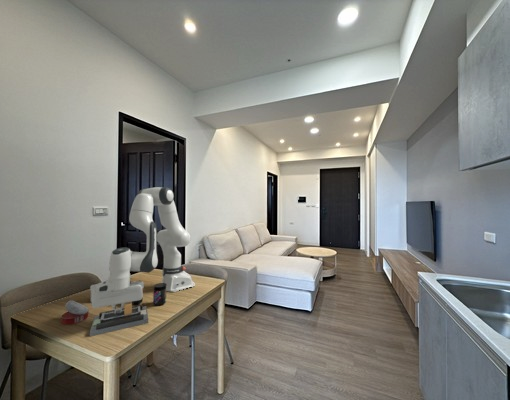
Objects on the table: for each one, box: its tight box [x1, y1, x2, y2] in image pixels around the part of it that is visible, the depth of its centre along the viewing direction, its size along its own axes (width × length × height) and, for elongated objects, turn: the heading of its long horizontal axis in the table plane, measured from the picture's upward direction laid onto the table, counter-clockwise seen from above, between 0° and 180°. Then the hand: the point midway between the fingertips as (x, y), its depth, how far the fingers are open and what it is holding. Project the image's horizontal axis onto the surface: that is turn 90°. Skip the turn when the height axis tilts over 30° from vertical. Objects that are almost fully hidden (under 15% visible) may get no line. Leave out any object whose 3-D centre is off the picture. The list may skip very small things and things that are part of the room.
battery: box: [132, 288, 144, 306], centre depth 120 cm, size 4×7×10 cm, turn 83°
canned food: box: [61, 300, 90, 326], centre depth 102 cm, size 11×10×10 cm
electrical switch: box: [89, 283, 99, 303], centre depth 124 cm, size 9×5×9 cm, turn 141°
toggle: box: [124, 302, 133, 315], centre depth 102 cm, size 3×4×6 cm
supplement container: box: [152, 282, 167, 307], centre depth 120 cm, size 7×7×10 cm
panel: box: [89, 304, 149, 337], centre depth 100 cm, size 22×14×4 cm, turn 121°
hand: (118, 312), depth 100 cm, fingers closed
